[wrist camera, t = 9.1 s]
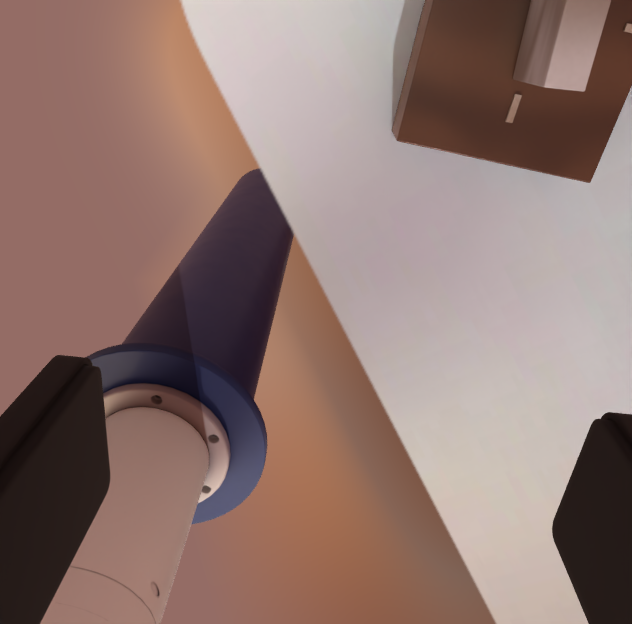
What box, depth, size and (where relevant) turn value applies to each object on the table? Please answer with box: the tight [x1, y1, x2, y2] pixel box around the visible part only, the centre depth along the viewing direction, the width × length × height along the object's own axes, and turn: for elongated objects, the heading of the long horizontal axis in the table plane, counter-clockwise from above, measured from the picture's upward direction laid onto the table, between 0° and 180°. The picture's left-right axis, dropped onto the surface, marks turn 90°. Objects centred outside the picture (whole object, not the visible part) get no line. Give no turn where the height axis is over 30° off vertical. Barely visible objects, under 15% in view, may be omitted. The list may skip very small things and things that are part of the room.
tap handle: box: [513, 0, 611, 92], centre depth 25 cm, size 6×2×5 cm, turn 174°
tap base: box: [392, 0, 632, 183], centre depth 29 cm, size 15×11×4 cm
